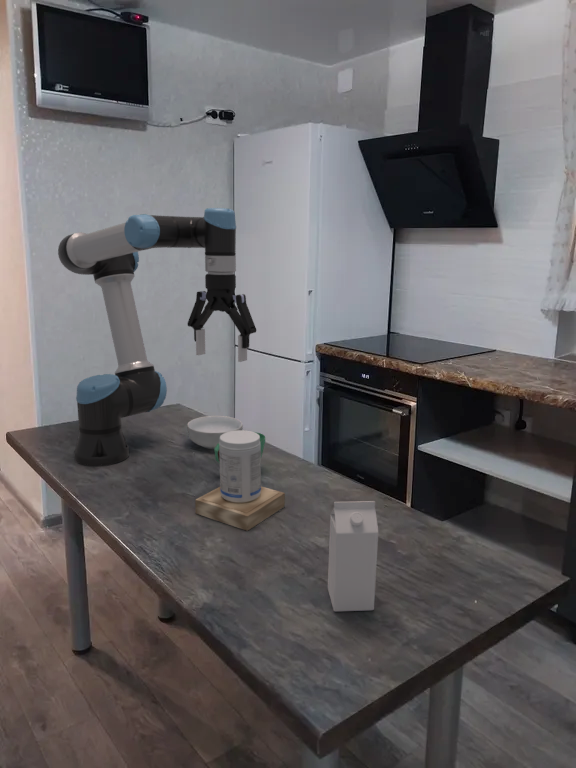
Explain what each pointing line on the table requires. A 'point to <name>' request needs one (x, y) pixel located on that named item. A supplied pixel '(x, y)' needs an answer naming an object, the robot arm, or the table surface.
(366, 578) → the milk carton
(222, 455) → the supplement tub
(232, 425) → the cereal bowl
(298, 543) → the table surface
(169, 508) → the table surface
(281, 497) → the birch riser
